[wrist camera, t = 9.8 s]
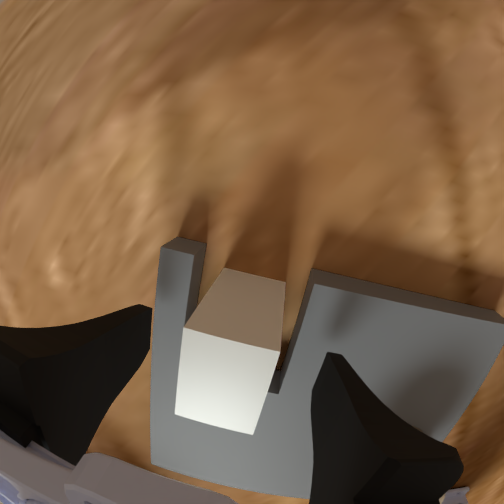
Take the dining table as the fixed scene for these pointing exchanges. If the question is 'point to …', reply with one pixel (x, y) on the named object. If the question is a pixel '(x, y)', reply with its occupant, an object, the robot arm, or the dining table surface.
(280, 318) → the block
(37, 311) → the dining table surface
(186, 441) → the board
